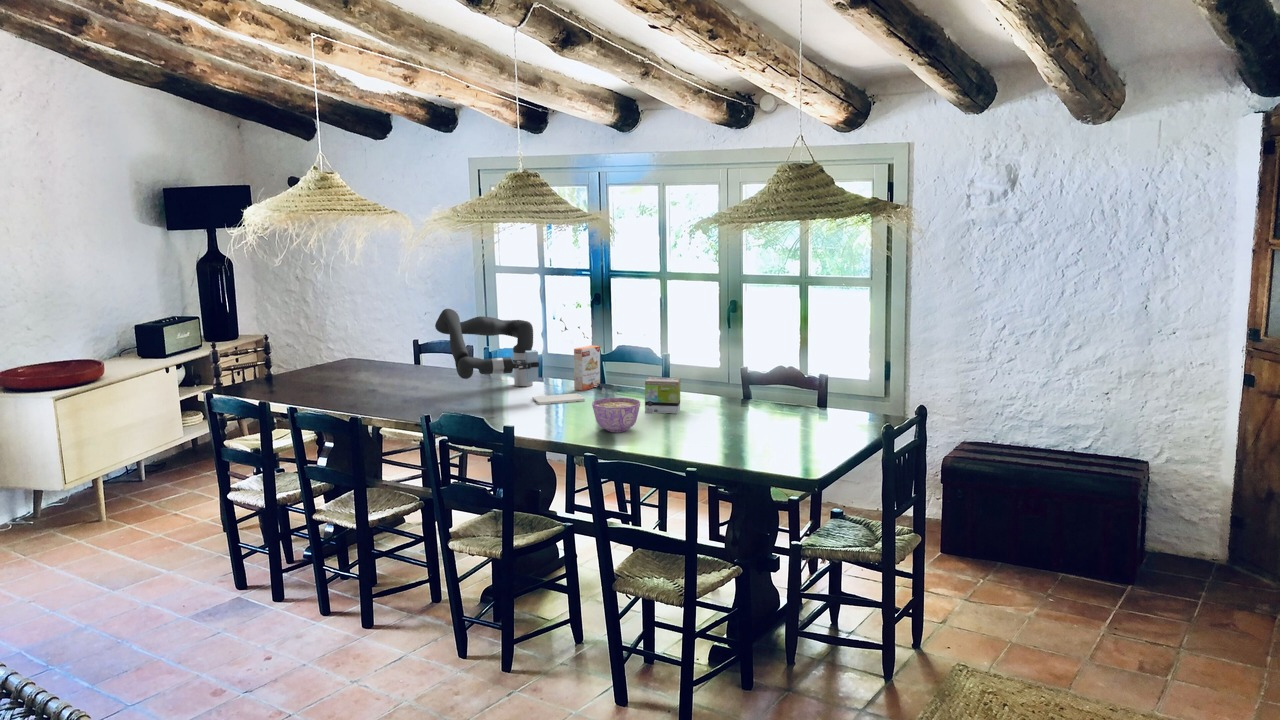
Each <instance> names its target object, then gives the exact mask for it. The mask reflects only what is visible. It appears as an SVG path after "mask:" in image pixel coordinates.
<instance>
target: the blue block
mask: <svg viewBox="0 0 1280 720" xmlns="http://www.w3.org/2000/svg"><path fill="white" fill-rule="evenodd" d="M525 362H530V363H532V362H538V363H539V352H538V350H535V349H532V350H530V351H525ZM526 367H528V365H526ZM525 376H526V381H527V382H537V383H538V382H539V367H531V369H525Z"/></svg>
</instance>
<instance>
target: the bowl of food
mask: <svg viewBox="0 0 1280 720" xmlns="http://www.w3.org/2000/svg"><path fill="white" fill-rule="evenodd" d="M591 405H592V408H593V409H592V410H593V413H594V414H593V415H594V417H595V421H596V423H597V425H599V427H600V428H602V429H603V430H606V431H607V432H609V431H610V433H622V432H623V431H624V432H626V431H627V430H629V429H630V428H633V426H635V424H636V423H637V419H638V417H639V411H640V407H641V401H640V400H639V399H636V398H631V397H630V398H629V397H606V398H605V397H603V398H599V399H597V400H593V401H592V402H591Z"/></svg>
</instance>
